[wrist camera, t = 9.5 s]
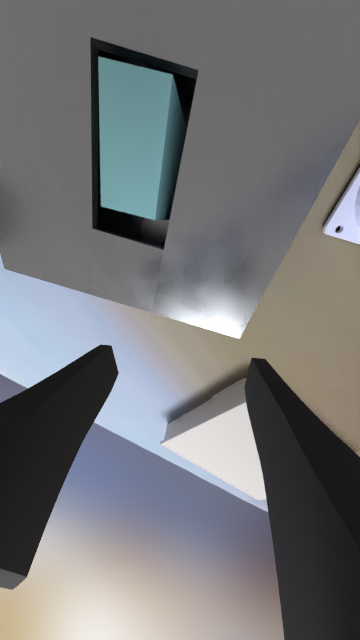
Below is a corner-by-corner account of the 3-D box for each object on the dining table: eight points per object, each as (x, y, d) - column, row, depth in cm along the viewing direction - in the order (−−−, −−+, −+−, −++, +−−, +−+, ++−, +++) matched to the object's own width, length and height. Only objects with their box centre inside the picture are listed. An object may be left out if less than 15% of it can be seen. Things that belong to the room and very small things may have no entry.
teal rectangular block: (188, 136, 12) (173, 74, 7) (174, 219, 14) (155, 220, 9) (145, 126, 12) (98, 56, 7) (139, 210, 15) (100, 206, 9)
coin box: (343, 58, 10) (489, -117, 5) (230, 304, 18) (239, 338, 13) (34, -37, 10) (-159, -320, 5) (63, 254, 18) (4, 268, 13)
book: (257, 500, 34) (160, 444, 28) (253, 475, 37) (165, 420, 31) (364, 482, 25) (254, 397, 20) (346, 452, 29) (248, 372, 23)
